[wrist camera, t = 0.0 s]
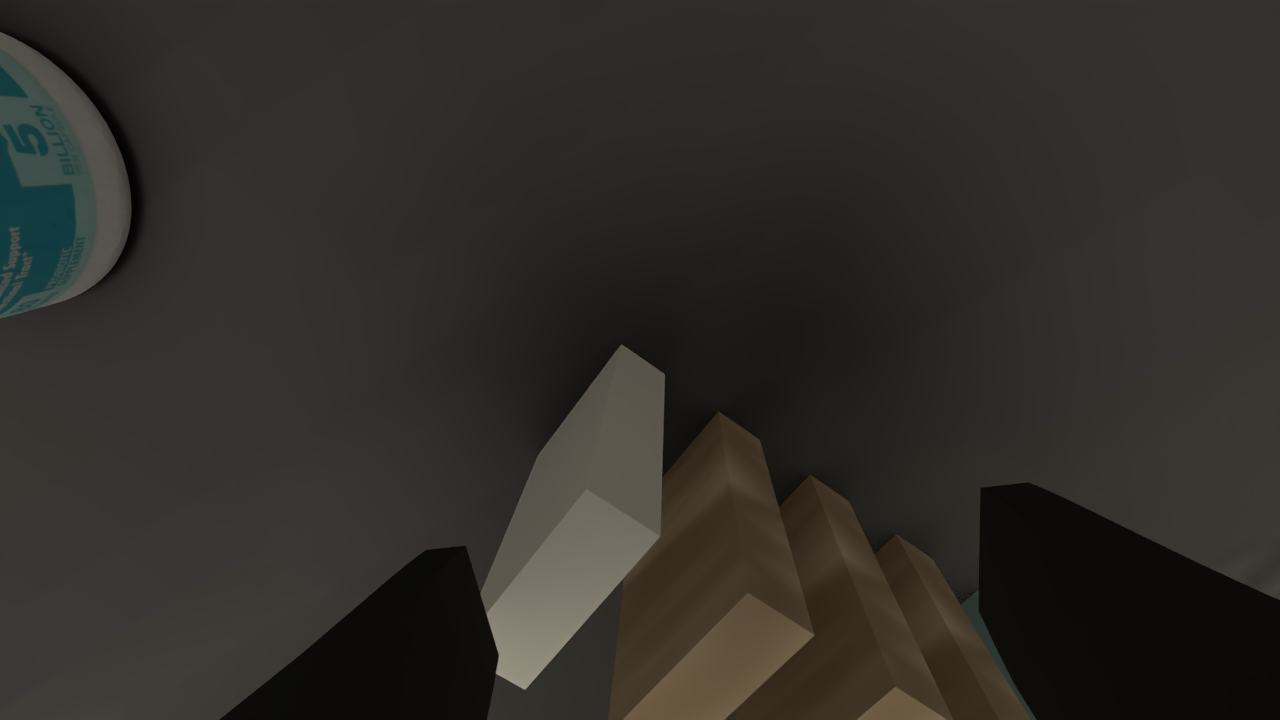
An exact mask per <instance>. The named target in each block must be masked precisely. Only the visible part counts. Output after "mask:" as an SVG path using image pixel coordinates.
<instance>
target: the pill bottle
mask: <svg viewBox="0 0 1280 720" xmlns="http://www.w3.org/2000/svg"><path fill="white" fill-rule="evenodd" d="M130 221H131V192H130V185H129V180H128V175H127V171H126V168H125V164H124V161H123V158H122V155H121V152H120V150H119V148H118V145H117V143H116V141H115V138H114V136H113V134H112V132H111V131H110V129H109V127H108V125H107V123H106V122H105V120H104V119H103V117H102V116H101V114H100V113H99V111H98V110H97V108H96V107H95V105H94V104H93V103H92V102H91V100H90V99H89V98H88V97H87V95H86V94H85V93H84V92H83V91H82V90H81V89H80V88H79V87H78V86H77V85H76V84H75V82H74V81H73V80H72V79H71V78H70V77H68V76H67V75H66V74H65V73H64V72H63V71H62V70H61V69H60V68H58V67H57V66H56V65H55V64H53V63H52V62H51V61H50V60H49V59H47V58H46V57H44V56H43V55H42V54H40V53H39V52H37V51H36V50H34V49H32V48H30V47H29V46H27V45H25V44H24V43H22V42H20V41H18V40H16V39H14V38H13V37H10V36H8V35H6V34H4V33H1V32H0V318H4V317H8V316H12V315H15V314H19V313H23V312H27V311H30V310H33V309H36V308H40V307H44V306H47V305H51V304H55V303H58V302H61V301H65V300H67V299H70V298H72V297H75V296H77V295H79V294H81V293H83V292H84V291H86V290H88V289H89V288H91V287H92V286H94V285H95V284H96V283H98V282H99V281H100V280H101V279H102V278H103V277H104V276H105V275H106V274H107V273H108V272H109V271H110V270H111V269H112V267H113V266H114V265H115V263H116V261H117V260H118V258H119V256H120V255H121V253H122V250H123V248H124V246H125V243H126V240H127V237H128V233H129V229H130Z"/></svg>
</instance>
